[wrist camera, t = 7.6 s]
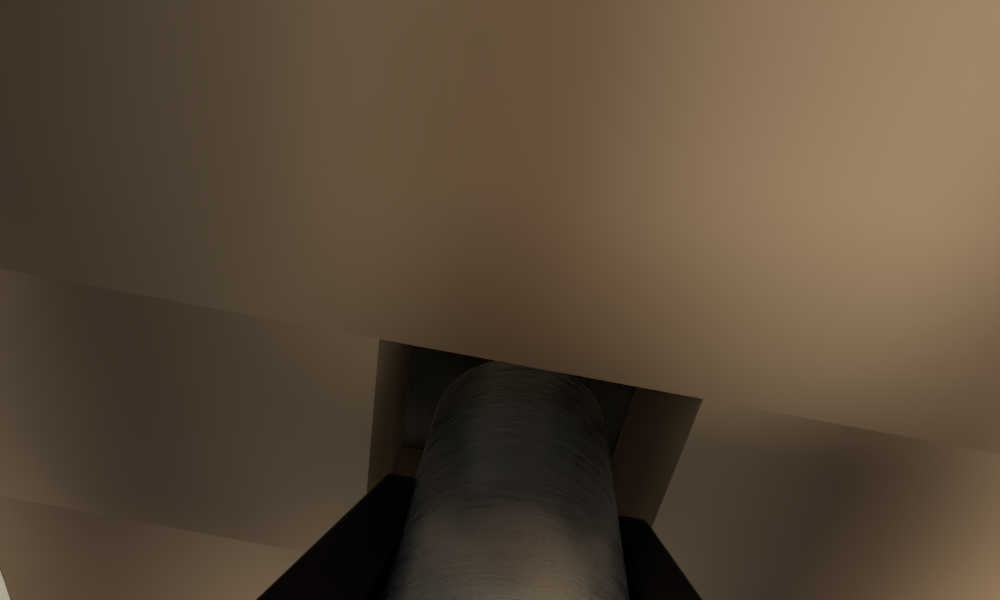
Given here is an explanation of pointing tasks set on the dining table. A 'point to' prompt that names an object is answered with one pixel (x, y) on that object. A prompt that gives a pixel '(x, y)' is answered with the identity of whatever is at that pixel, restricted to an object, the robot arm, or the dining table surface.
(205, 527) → the socket block
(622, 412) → the dining table surface
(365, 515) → the robot arm
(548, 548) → the peg
